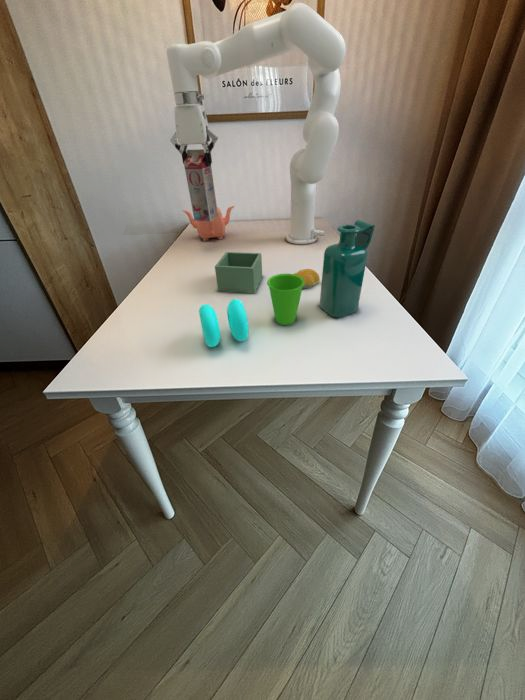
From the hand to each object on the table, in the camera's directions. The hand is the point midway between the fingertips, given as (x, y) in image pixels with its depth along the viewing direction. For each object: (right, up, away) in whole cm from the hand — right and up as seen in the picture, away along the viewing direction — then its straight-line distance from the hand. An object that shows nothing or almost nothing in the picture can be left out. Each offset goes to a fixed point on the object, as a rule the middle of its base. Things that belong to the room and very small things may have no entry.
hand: (198, 166), depth 106 cm
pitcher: (+43, -52, -21) cm, 71 cm away
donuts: (+13, -61, -31) cm, 70 cm away
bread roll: (+35, -42, -9) cm, 56 cm away
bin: (+15, -42, -7) cm, 45 cm away
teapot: (0, -13, +30) cm, 33 cm away
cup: (+28, -55, -25) cm, 67 cm away
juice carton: (+1, -14, +11) cm, 17 cm away
